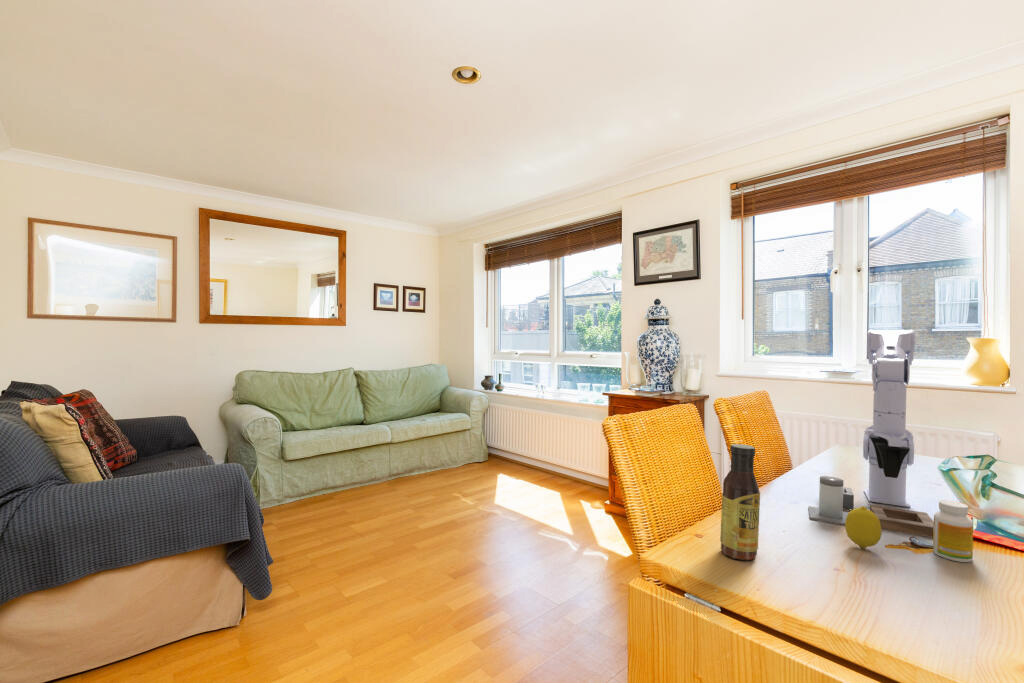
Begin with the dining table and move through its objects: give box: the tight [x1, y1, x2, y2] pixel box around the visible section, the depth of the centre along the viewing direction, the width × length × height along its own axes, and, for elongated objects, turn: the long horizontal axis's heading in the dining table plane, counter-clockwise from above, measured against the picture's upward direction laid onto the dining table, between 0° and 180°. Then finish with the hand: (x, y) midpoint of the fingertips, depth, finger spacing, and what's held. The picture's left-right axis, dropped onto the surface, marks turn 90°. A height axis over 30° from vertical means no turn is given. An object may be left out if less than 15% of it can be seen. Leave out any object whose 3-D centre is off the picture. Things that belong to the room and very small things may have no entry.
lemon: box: [844, 505, 882, 550], centre depth 91 cm, size 6×6×8 cm
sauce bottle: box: [719, 443, 761, 561], centre depth 88 cm, size 7×6×20 cm
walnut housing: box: [869, 503, 934, 538], centre depth 103 cm, size 10×10×2 cm
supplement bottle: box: [932, 499, 974, 563], centre depth 88 cm, size 5×5×10 cm
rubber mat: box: [808, 505, 849, 526], centre depth 107 cm, size 8×8×1 cm
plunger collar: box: [843, 486, 855, 511], centre depth 115 cm, size 6×6×4 cm
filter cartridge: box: [818, 475, 844, 519], centre depth 107 cm, size 4×4×8 cm
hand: (887, 472), depth 107 cm, fingers open, 7 cm apart
